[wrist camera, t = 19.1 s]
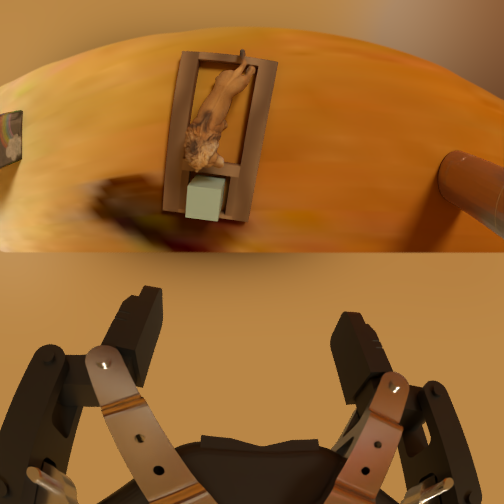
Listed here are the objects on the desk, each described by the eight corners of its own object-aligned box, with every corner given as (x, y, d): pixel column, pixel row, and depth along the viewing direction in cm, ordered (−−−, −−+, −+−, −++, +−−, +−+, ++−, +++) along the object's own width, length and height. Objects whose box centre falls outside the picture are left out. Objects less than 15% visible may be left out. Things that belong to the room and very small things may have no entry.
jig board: (277, 64, 29) (278, 62, 28) (248, 218, 40) (248, 222, 38) (184, 53, 28) (182, 51, 27) (165, 206, 38) (162, 210, 37)
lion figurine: (227, 156, 36) (218, 183, 29) (189, 146, 35) (170, 170, 28) (262, 55, 27) (263, 50, 20) (220, 44, 26) (208, 36, 19)
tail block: (225, 177, 37) (221, 189, 31) (221, 205, 39) (217, 221, 33) (196, 174, 36) (187, 185, 31) (193, 201, 38) (185, 217, 33)
